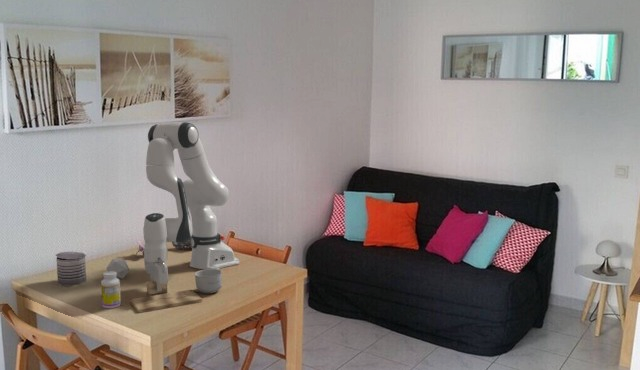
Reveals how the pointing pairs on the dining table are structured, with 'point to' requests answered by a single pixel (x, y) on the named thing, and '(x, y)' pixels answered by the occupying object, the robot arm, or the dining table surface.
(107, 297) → the supplement bottle
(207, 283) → the teacup
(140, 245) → the lily
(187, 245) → the mineral specimen
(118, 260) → the die
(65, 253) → the can
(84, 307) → the dining table surface
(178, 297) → the board
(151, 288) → the block
